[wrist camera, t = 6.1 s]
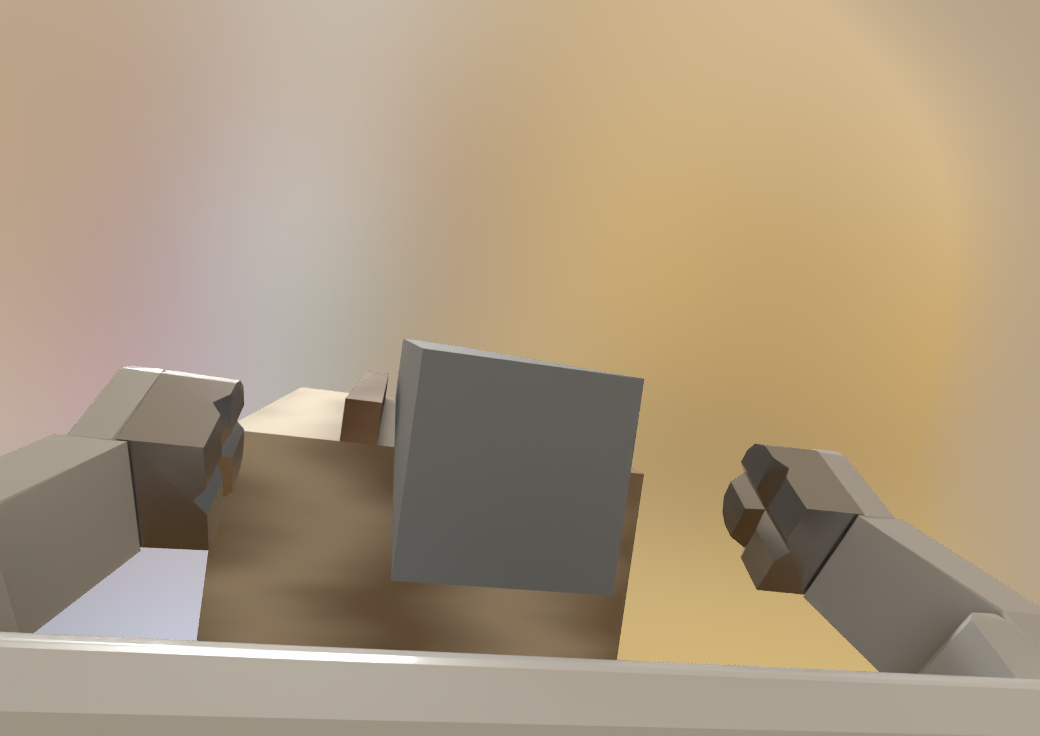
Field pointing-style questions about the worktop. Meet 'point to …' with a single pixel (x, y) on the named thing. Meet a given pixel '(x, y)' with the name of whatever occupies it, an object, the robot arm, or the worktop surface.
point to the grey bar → (509, 470)
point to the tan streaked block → (367, 549)
